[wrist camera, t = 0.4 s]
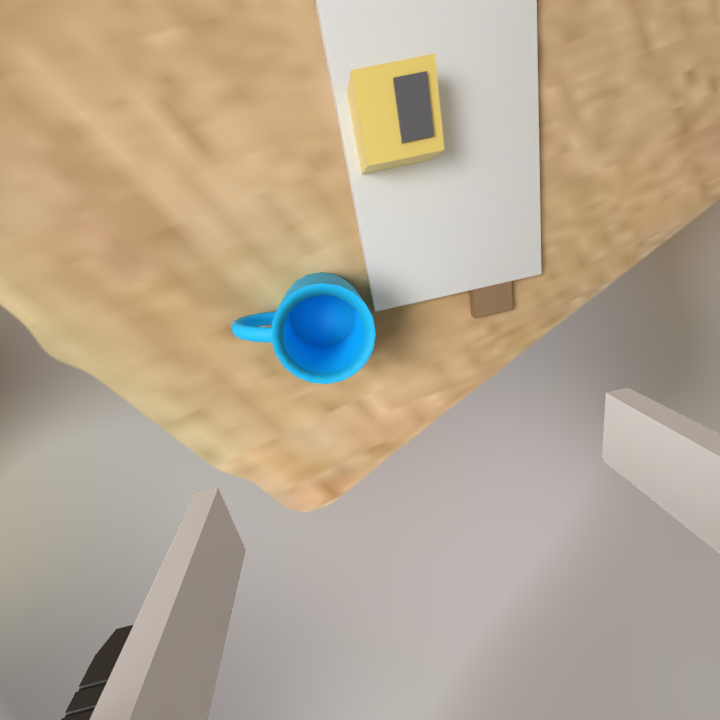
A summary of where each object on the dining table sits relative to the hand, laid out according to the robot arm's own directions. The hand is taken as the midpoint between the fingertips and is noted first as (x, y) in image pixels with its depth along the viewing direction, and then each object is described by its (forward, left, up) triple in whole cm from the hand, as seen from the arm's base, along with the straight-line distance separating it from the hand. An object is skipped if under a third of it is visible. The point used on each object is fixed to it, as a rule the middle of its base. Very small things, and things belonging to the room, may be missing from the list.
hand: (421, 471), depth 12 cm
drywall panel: (-12, +11, -25) cm, 30 cm away
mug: (-1, -5, -26) cm, 26 cm away
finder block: (-15, +6, -24) cm, 29 cm away
